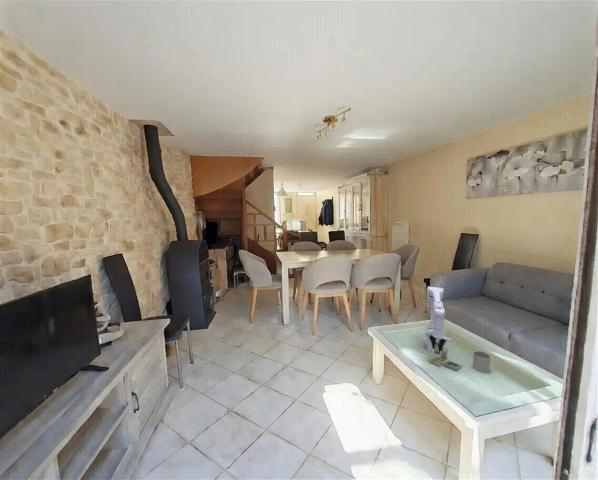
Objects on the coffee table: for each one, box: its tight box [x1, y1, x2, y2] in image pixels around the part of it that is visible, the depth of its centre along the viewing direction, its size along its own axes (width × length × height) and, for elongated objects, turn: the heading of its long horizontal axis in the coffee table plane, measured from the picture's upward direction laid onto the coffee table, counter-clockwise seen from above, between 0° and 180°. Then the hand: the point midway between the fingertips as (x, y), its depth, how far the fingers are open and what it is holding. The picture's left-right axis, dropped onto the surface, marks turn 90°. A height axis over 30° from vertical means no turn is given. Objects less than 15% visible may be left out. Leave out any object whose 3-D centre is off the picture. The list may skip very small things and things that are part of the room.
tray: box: [427, 356, 448, 368], centre depth 163 cm, size 10×7×2 cm
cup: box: [472, 350, 491, 374], centre depth 157 cm, size 8×8×10 cm
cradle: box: [443, 360, 464, 372], centre depth 159 cm, size 10×7×3 cm
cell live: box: [433, 342, 441, 355], centre depth 162 cm, size 3×3×6 cm
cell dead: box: [440, 347, 448, 361], centre depth 169 cm, size 3×3×6 cm
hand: (437, 349), depth 162 cm, fingers closed on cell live, 3 cm apart
